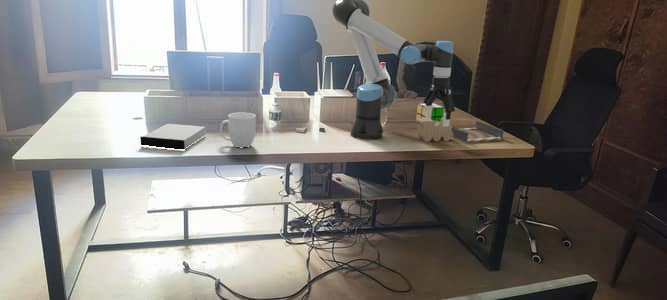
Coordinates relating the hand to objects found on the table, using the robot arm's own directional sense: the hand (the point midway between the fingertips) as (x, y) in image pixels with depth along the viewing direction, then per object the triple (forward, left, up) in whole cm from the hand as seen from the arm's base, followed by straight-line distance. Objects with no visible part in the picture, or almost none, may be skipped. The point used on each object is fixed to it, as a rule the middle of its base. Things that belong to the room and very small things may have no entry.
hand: (436, 122), depth 210 cm
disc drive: (-112, +24, -9) cm, 115 cm away
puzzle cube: (+16, +27, -9) cm, 33 cm away
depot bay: (+22, 0, -8) cm, 23 cm away
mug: (-88, +12, -9) cm, 90 cm away
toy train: (0, 0, -9) cm, 9 cm away
